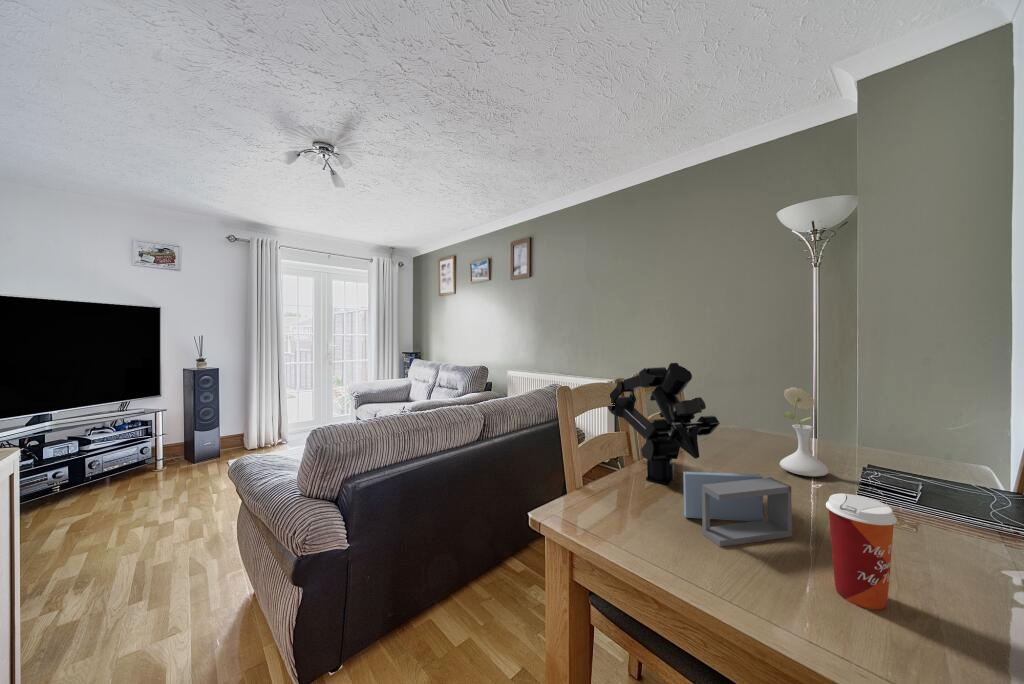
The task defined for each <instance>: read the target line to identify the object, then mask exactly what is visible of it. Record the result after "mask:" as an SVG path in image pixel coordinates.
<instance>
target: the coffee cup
mask: <svg viewBox="0 0 1024 684" xmlns="http://www.w3.org/2000/svg"><path fill="white" fill-rule="evenodd" d="M825 507H826V508H827V509H828V518H829V530H830V546H831V555H832V556H831V557H832V567H833V577H834V578H833V579H834V586H835V591H836V593H837V594H838V595H839V596H840V597H841V598H842V599H844V600H846V601H847V602H849V603H851V604H853V605H855V606H857V607H861V608H862V609H863V608H864V609H868V610H871V611H882V610H885V609H886V608H887V606H888V598H889V590H890V589H889V587H890V577H891V565H892V551H893V550H892V549H893V539H894V528H895V527H894V526H895V524H896V523H897V522H898V519H897V516H895V515H894V511H893V509H892V508H891V507H890V506H888V505H887V504H886V503H883V502H882V501H879V500H876V499H874V498H869V497H866V496H862V495H857V494H849V493H835V494H834V493H833V494H831V495H830V496H829V497H828V500H827V501H826V503H825Z"/></svg>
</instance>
